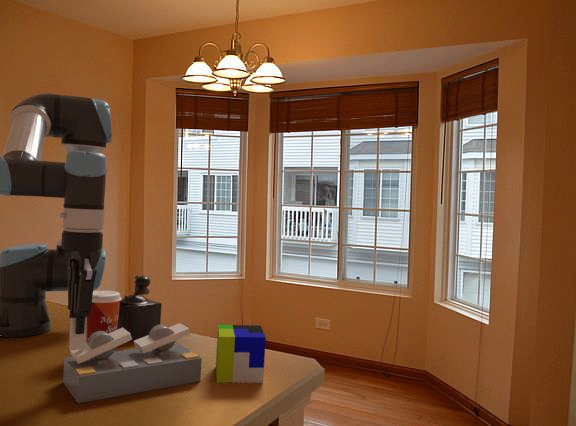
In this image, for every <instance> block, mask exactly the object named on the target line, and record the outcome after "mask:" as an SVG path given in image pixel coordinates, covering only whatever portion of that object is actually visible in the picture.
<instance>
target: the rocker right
mask: <svg viewBox="0 0 576 426" xmlns="http://www.w3.org/2000/svg"><path fill="white" fill-rule="evenodd" d="M189 335H191V330H190V328H189V327H187V326H186V325H184V324H183V323H176V324H174V325H171V326H170V327H168V326H166V325H165V324H160V325H157V326H155V327H153V328H152V329H151V331H150V333H149V335H148V336H145V337H142V338H140V339H137V340H135V341H133V345H134V347H135V349H138V350H139V351H141V352H142V353H145V352H148V351H150V350H153V349H155V348H157V349H159V350H161V351H166V350H169V349H170V348H171V347H172V346H173V345H174V344H176V341H177V340H180V339H183V338H185V337H186V336H189Z"/></svg>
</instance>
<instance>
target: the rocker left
mask: <svg viewBox="0 0 576 426" xmlns="http://www.w3.org/2000/svg"><path fill="white" fill-rule="evenodd" d="M130 340H132V337H131V334H130V333H129V332H128V331H127V330H125V329H124V328H123V327H122V328H120V329H118V330H116V331H113V332H111V333H109V334H108V333H106V332H104V331H97V332H95V333H93V334H92V335H91V336H90V337H89V339H88V341H87V340H86V343H85V349H80V350H72V351H71V350H70V349H69V350H70V351H69V352H70V354H71V357H73V358H74V359H75V361H76V362H77V363H78V364H79V363H82V362H84V361H86V360H88V359H90V358H93V357H96V358H98V359H106V358H108V357H110V356H111V355H112V354H113V353H114V352H115V351H116V348H117V347H119V346H121V345H124V344H126V343H128V342H129V341H130ZM130 342H131V341H130Z"/></svg>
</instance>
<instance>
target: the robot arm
mask: <svg viewBox="0 0 576 426" xmlns="http://www.w3.org/2000/svg"><path fill="white" fill-rule="evenodd" d="M8 126H9V128H10V129H9V132H8V136H7V140H6V142H5V145H4V149H3V152H2V154H1V156H0V195H1V196H5V197H7V196H8V197H9V196H13V197H14V196H15V197H16V196H17V197H18V196H19V197H38V198H39V197H42V198H54V199H55V198H57V199H58V198H59V199H63V210H62V211H63V212H60V213H59V217H60V218H62V228H63V229H62V231H63V232H61V239H59V240H58V241H57V242H56V248H55V249H51V248H50V249H49V246H48V244H47V243H29V244H22V245H15V246H10V247H9V246H8V247H6V248H4V249H3V250H2V251H1V252H0V335H2V336H3V337H2V338H23V337H31V336H37V335H41V334H44V333H47V332H49V331H50V330H51V329H52V319H51V316H50V312H49V309H48V305H47V302H46V295H47V294H46V293H47V292H67V309H68V310H69V319H70V320H69V321H70V323H69V339H68V340H69V341H68V349H69V350H71V351H72V350H80V349H85V344H86V343H87V316H90V314H91V305H92V297H93V291H97V289H99V288H100V286H101V284H102V280H103V277H104V271H105V265H106V257H107V252H106V250H104V249H103V245H104V243H103V238H104V233H103V232H102V231H101V230H103V229H104V226H105V196H106V181H107V173H108V168H107V156H106V155H105V154H103V152H104V151H106V149H107V144H109V143H110V144H111V143H112V142H113V125H112V114H111V109H110V105H109V104H108V103H107V101H105V100H101V99H97V98H93V97H82V96H72V95H65V94H57V93H49V92H48V93H40V94H36V95H31V96H29V97H28V98H25V99H23V100H21V101H20V102H18V103H17V104H16V105H15V106H14V107H13V109H12V110H11V111H10V114H9V117H8ZM47 137H48V138H49V137H50V138H57V139H61V144H60V145H61V146H62V148H64V150H65V151H66V155H65V162H62V161H47V160H42V156H43V150H44V143H45V138H47Z"/></svg>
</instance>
